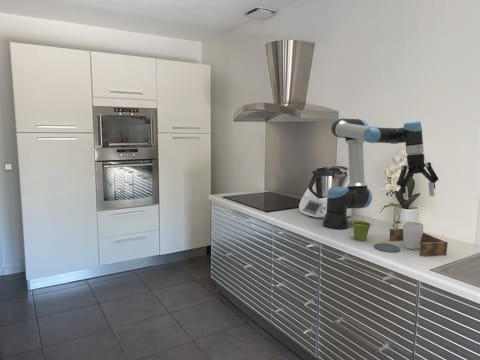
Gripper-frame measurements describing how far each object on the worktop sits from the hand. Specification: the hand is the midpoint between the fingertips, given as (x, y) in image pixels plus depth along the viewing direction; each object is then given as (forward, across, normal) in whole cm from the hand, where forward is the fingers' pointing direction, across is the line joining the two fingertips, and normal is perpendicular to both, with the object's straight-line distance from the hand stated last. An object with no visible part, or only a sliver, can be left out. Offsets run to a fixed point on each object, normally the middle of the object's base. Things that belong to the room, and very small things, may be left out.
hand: (419, 197), depth 170 cm
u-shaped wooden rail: (+25, -1, +4) cm, 25 cm away
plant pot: (+21, -24, +18) cm, 36 cm away
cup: (+25, -4, +4) cm, 25 cm away
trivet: (+23, -18, +3) cm, 29 cm away
